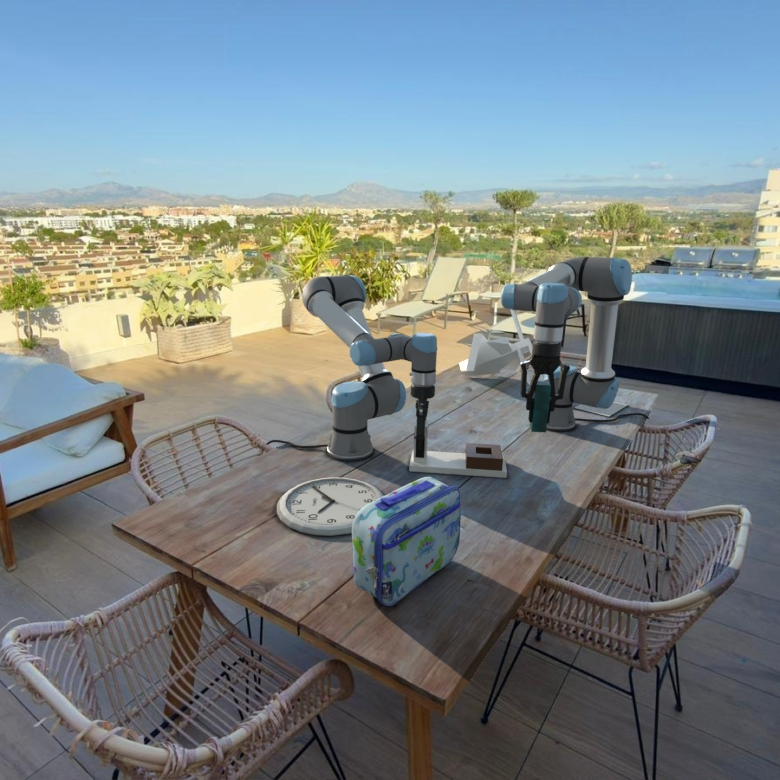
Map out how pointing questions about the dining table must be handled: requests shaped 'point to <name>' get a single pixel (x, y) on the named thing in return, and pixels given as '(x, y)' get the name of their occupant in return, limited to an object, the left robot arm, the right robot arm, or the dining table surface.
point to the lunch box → (405, 538)
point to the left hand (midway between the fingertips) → (420, 452)
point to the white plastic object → (495, 354)
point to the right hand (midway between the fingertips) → (538, 421)
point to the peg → (540, 406)
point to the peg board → (460, 460)
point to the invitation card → (606, 412)
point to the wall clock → (325, 505)
